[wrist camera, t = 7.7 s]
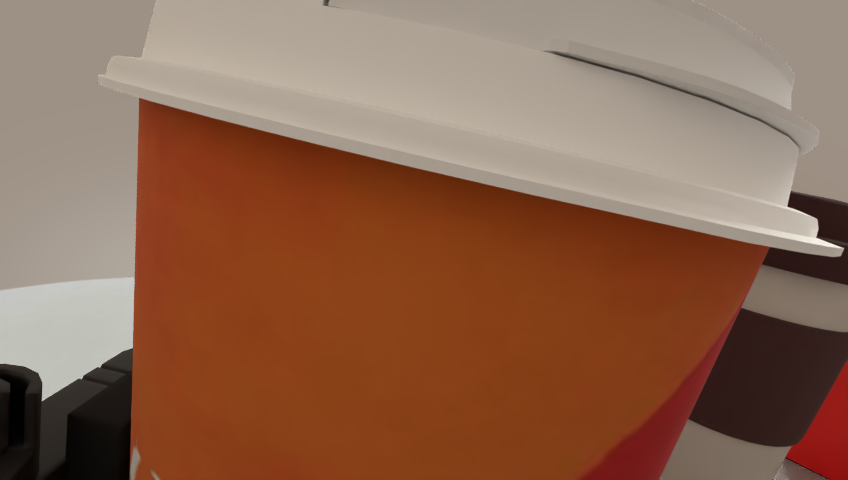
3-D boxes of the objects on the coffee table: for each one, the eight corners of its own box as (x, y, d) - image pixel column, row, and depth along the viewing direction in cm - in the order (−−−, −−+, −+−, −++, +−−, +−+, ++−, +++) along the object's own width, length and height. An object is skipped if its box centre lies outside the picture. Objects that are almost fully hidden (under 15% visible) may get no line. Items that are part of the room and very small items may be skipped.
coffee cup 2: (822, 510, 23) (956, 228, 20) (732, 576, 18) (895, 205, 15) (647, 399, 31) (723, 184, 28) (548, 421, 26) (628, 160, 23)
